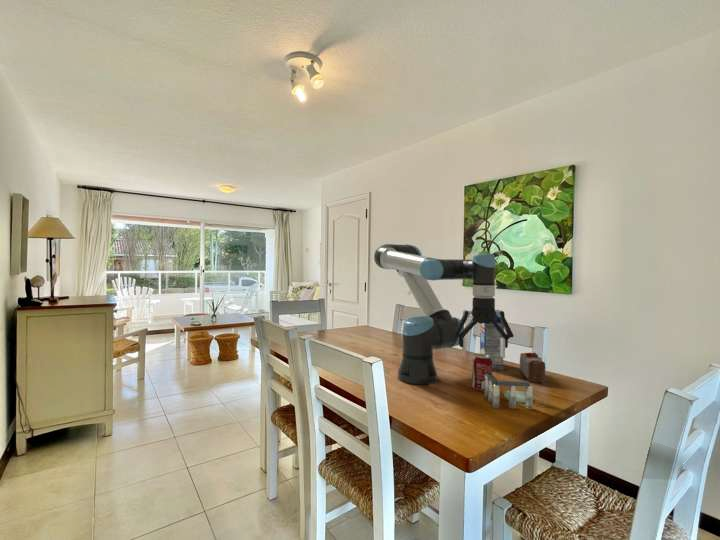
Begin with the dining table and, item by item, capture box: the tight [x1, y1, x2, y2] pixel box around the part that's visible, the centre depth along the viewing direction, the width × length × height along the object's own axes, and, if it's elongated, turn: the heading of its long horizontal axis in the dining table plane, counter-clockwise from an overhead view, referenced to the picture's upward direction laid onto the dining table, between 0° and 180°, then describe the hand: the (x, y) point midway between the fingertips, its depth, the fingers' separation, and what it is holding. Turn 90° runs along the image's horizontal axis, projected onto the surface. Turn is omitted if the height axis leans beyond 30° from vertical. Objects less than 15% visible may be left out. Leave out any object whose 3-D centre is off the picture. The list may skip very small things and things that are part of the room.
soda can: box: [471, 353, 493, 392], centre depth 128 cm, size 7×7×12 cm
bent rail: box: [483, 372, 534, 410], centre depth 116 cm, size 12×11×8 cm
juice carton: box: [479, 309, 505, 371], centre depth 156 cm, size 12×8×24 cm, turn 171°
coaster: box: [503, 390, 534, 404], centre depth 120 cm, size 9×9×1 cm
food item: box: [519, 352, 546, 384], centre depth 142 cm, size 14×8×10 cm, turn 170°
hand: (483, 356), depth 127 cm, fingers open, 13 cm apart
